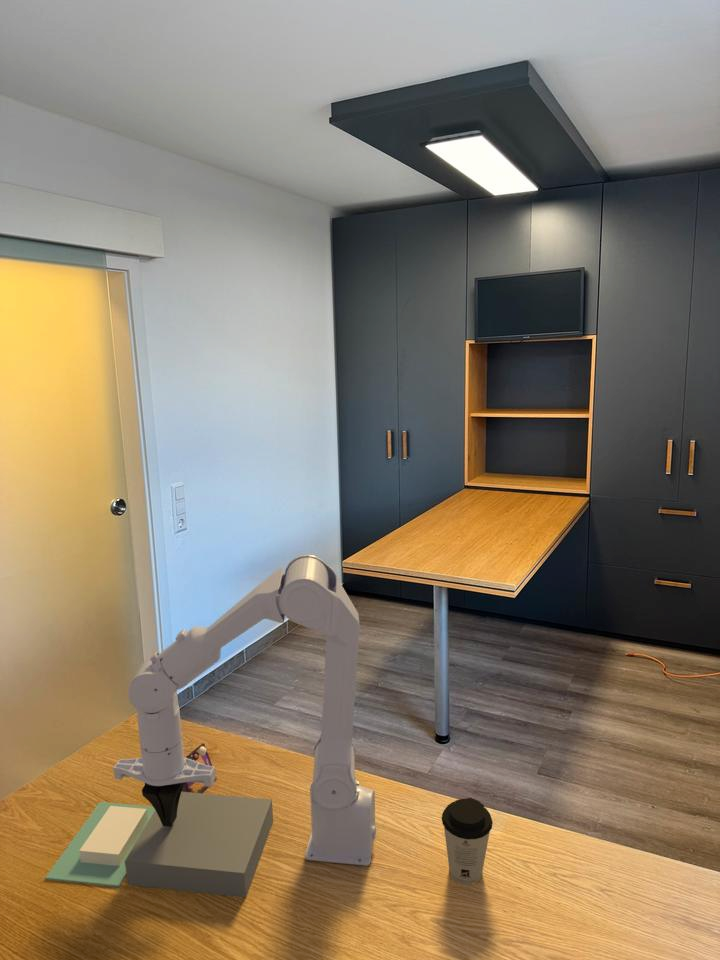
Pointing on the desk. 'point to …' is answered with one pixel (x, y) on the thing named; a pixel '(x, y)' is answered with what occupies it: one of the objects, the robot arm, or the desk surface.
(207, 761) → the game card
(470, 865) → the coffee cup
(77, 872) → the mat
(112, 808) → the beige rectangular block
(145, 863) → the plate
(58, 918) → the desk surface
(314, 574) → the robot arm
